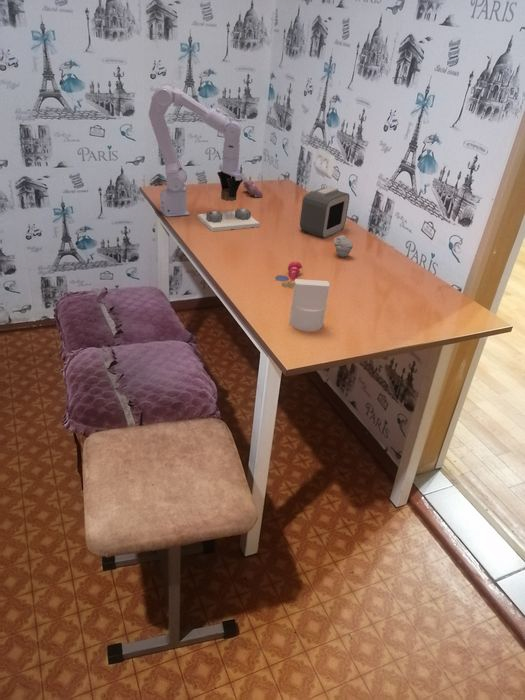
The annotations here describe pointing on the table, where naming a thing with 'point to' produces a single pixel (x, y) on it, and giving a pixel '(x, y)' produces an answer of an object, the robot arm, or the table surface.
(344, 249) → the grey muffin
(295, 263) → the toy pieces
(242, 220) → the gear board
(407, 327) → the table surface
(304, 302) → the cylinder with rectangular tab
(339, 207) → the alarm clock
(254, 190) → the pink irregular piece
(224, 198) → the walnut gear
